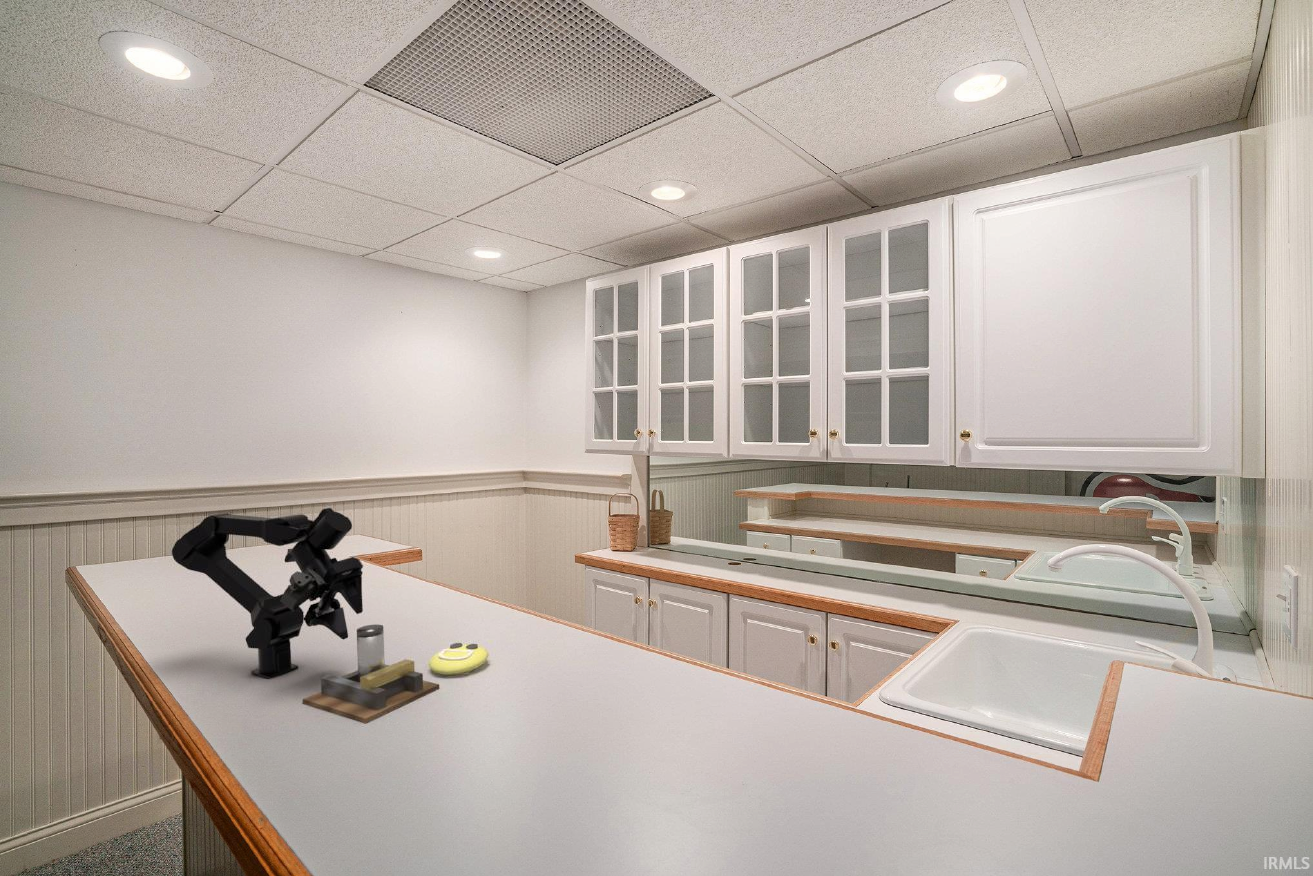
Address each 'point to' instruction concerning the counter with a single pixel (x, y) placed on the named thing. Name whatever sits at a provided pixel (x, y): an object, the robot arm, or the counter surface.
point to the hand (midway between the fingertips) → (352, 625)
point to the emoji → (458, 659)
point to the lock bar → (386, 674)
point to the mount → (368, 695)
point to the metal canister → (370, 649)
